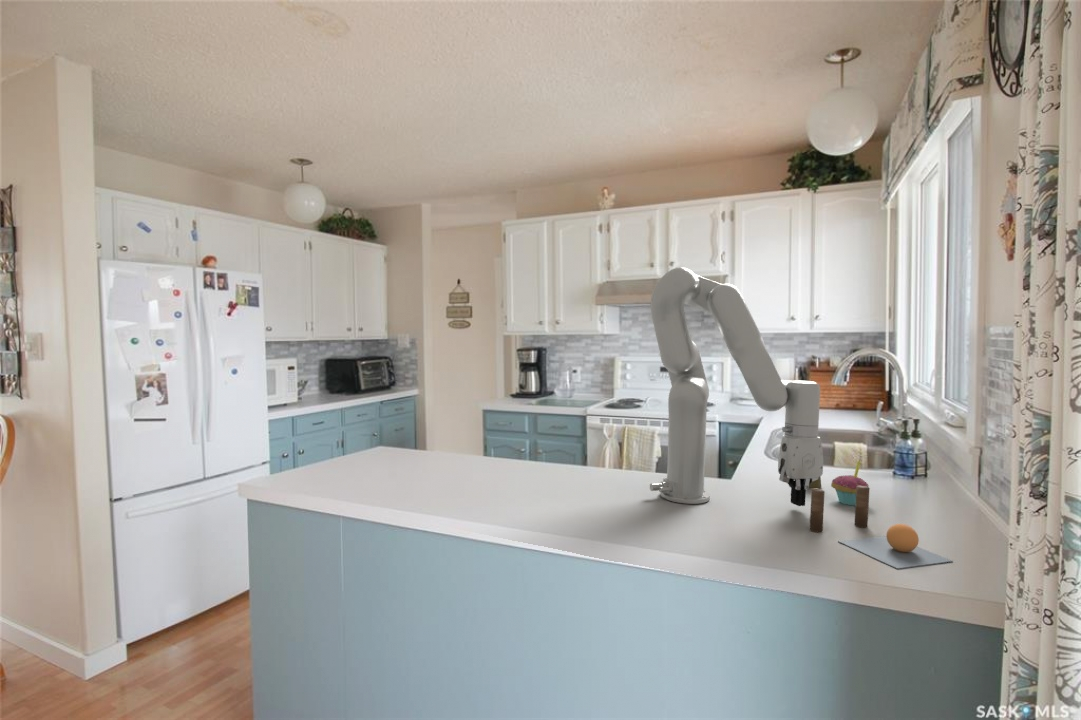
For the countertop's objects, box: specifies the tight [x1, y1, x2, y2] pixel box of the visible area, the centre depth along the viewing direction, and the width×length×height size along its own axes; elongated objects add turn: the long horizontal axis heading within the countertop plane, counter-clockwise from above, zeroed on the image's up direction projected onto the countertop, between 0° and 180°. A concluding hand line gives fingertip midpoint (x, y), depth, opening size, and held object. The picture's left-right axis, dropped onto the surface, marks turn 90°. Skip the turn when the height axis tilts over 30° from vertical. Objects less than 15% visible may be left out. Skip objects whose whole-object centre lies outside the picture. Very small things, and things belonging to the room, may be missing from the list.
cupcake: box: [830, 458, 870, 506], centre depth 148 cm, size 9×8×12 cm
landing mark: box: [838, 535, 954, 570], centre depth 116 cm, size 14×14×1 cm
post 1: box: [809, 488, 825, 533], centre depth 127 cm, size 3×3×9 cm
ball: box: [886, 523, 920, 552], centre depth 116 cm, size 6×6×6 cm
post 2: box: [854, 486, 871, 529], centre depth 131 cm, size 3×3×9 cm
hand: (797, 504), depth 142 cm, fingers closed
